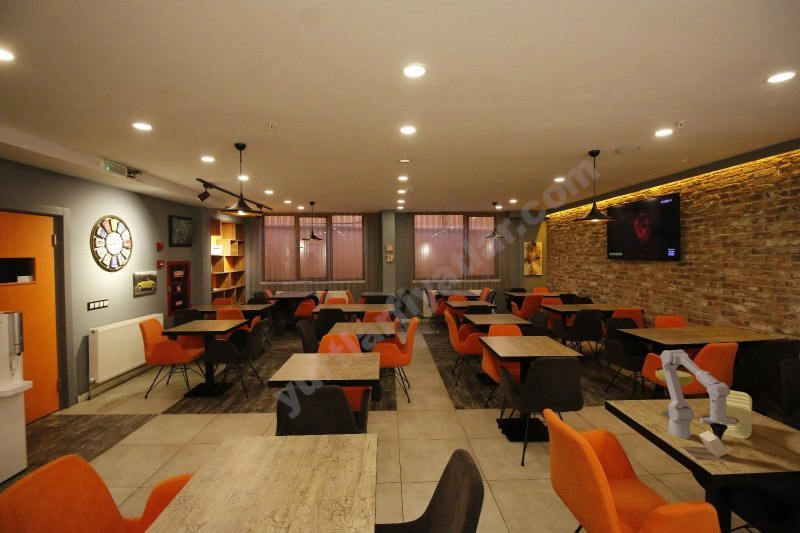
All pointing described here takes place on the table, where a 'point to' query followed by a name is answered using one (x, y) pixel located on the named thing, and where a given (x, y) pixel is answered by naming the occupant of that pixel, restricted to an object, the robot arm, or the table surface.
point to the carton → (713, 444)
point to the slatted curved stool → (739, 414)
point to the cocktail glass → (683, 378)
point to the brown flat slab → (705, 454)
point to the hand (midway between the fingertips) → (717, 439)
